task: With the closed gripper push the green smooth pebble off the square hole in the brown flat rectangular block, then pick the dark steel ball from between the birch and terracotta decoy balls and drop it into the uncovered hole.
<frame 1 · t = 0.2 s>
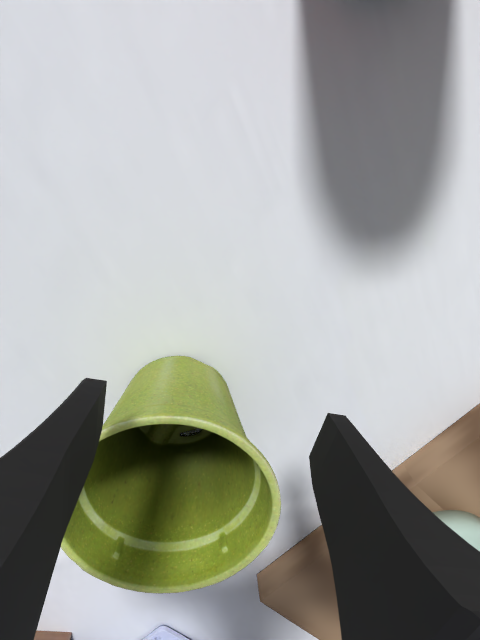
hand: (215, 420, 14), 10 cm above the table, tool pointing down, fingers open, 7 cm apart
brown flat rectangular block: (423, 529, 31), on the table
plant pot: (179, 399, 26), on the table
green smooth pebble: (437, 553, 29), point 2 cm above the table, touching brown flat rectangular block
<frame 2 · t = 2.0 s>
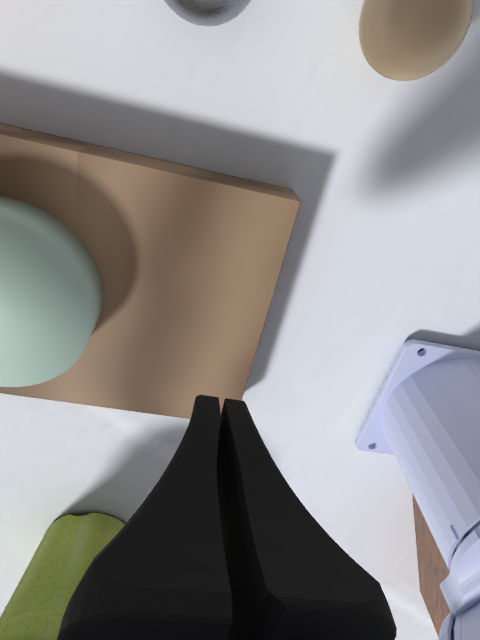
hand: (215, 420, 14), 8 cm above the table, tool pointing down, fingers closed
brown flat rectangular block: (28, 267, 20), on the table
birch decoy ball: (413, 20, 14), point 2 cm above the table
plant pot: (93, 534, 30), on the table
green smooth pebble: (10, 285, 18), point 2 cm above the table, touching brown flat rectangular block
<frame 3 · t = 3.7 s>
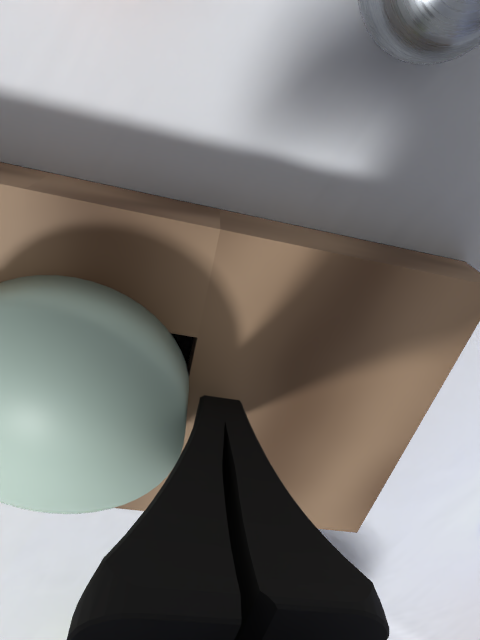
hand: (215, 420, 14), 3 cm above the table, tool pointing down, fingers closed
brown flat rectangular block: (120, 353, 16), on the table
green smooth pebble: (70, 383, 14), point 2 cm above the table, touching gripper
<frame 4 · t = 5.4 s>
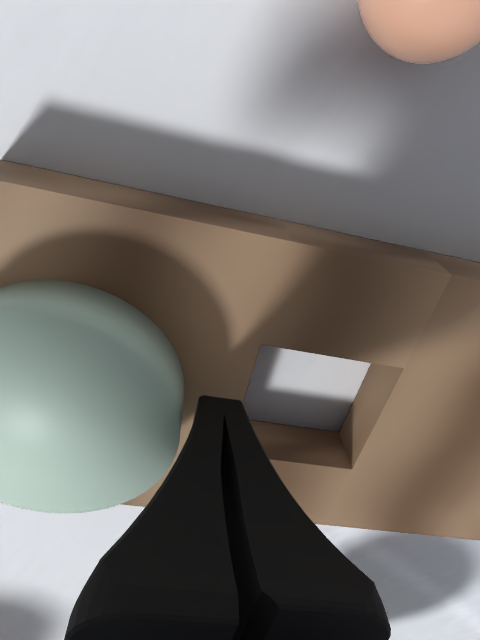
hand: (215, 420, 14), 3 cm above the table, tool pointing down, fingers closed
brown flat rectangular block: (301, 378, 17), on the table
green smooth pebble: (68, 385, 14), point 2 cm above the table, touching brown flat rectangular block
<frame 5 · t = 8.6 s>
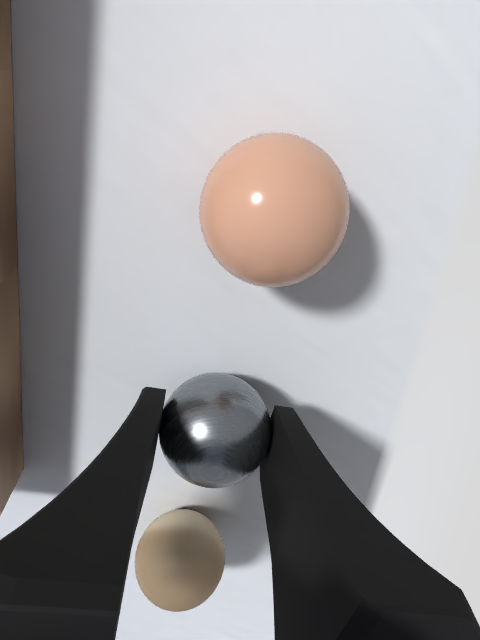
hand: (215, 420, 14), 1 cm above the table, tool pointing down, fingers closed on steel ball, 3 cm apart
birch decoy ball: (180, 557, 17), point 2 cm above the table
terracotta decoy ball: (273, 213, 10), point 2 cm above the table
steel ball: (215, 428, 13), point 2 cm above the table, touching gripper
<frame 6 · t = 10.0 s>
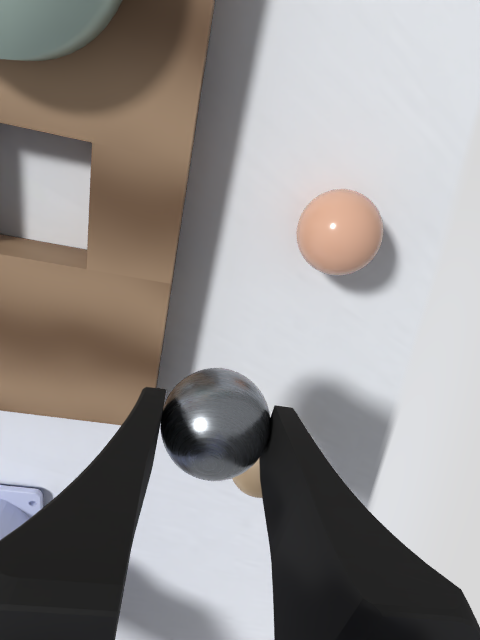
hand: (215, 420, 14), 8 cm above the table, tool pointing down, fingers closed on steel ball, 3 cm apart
brown flat rectangular block: (40, 185, 18), on the table
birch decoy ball: (259, 464, 24), point 2 cm above the table
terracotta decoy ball: (338, 233, 18), point 2 cm above the table
steel ball: (215, 422, 14), point 8 cm above the table, tilted 7°, touching gripper
when the fingers open (4 cm above the table, at t = 11.7 s): steel ball drops 2 cm, point 2 cm above the table.
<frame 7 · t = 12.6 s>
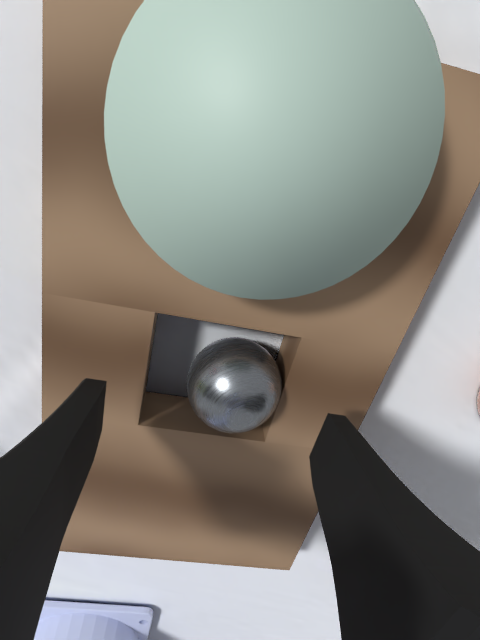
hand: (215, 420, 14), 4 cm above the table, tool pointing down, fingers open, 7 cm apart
brown flat rectangular block: (215, 352, 17), on the table
steel ball: (234, 384, 16), point 2 cm above the table, tilted 12°
green smooth pebble: (266, 138, 11), point 2 cm above the table, touching brown flat rectangular block
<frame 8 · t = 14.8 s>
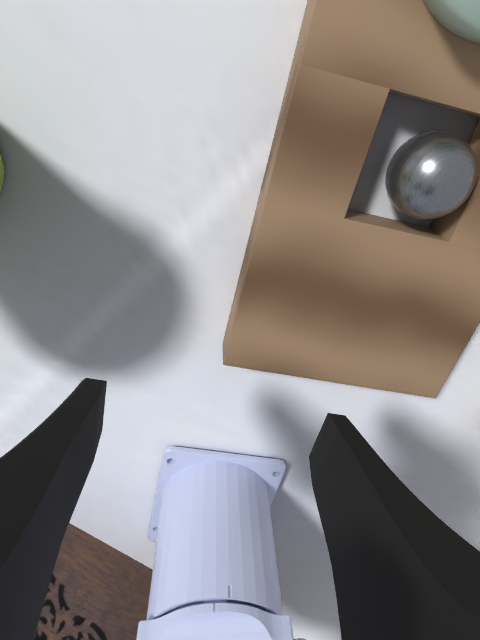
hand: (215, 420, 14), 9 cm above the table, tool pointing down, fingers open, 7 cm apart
tissue box cover: (95, 599, 36), on the table
brown flat rectangular block: (403, 163, 19), on the table
steel ball: (429, 176, 18), point 2 cm above the table, tilted 5°
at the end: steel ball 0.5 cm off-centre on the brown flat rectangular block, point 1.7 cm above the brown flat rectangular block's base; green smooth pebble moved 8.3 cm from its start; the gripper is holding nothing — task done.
